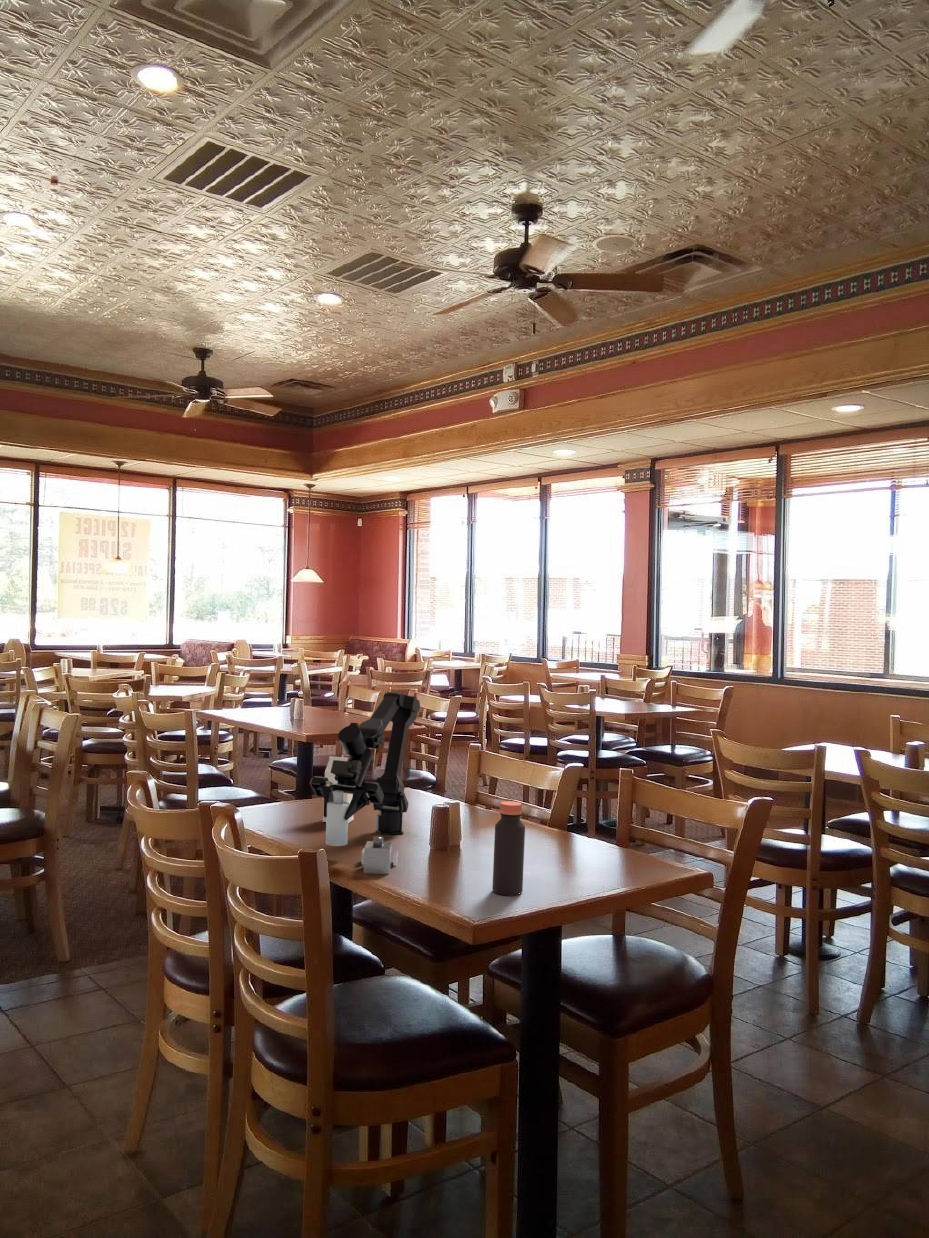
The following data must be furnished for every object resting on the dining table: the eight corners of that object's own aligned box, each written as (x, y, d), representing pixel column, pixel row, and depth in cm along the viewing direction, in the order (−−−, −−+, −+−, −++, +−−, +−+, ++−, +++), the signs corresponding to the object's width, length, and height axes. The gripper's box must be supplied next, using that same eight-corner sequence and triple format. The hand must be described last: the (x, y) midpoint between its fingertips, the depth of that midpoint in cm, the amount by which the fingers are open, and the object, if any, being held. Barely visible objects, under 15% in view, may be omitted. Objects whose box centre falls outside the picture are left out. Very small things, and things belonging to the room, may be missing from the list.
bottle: (518, 887, 219) (522, 800, 219) (525, 896, 212) (529, 806, 212) (489, 887, 218) (493, 800, 218) (495, 896, 211) (499, 806, 211)
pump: (345, 840, 241) (347, 789, 241) (349, 845, 236) (351, 793, 236) (324, 841, 239) (325, 789, 239) (327, 846, 234) (329, 793, 234)
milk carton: (345, 825, 276) (348, 759, 276) (322, 823, 277) (325, 757, 277) (353, 820, 283) (356, 756, 283) (330, 818, 284) (333, 754, 284)
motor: (362, 860, 237) (364, 828, 237) (397, 861, 237) (398, 829, 237) (357, 872, 225) (359, 839, 225) (394, 874, 225) (395, 840, 225)
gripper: (314, 744, 244) (290, 794, 234) (380, 750, 238) (359, 802, 228) (327, 770, 252) (305, 820, 241) (392, 777, 245) (372, 829, 235)
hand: (334, 817), depth 236 cm, fingers closed on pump, 5 cm apart
